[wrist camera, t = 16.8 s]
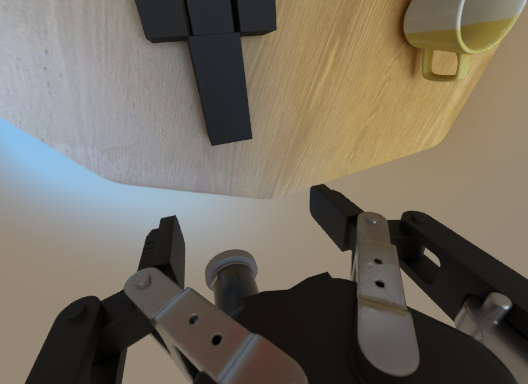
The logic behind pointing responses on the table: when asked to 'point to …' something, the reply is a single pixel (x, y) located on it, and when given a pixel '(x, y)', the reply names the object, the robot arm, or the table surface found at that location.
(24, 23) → the table surface
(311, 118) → the table surface
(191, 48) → the black stepped bar
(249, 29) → the notch pad
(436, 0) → the mug
